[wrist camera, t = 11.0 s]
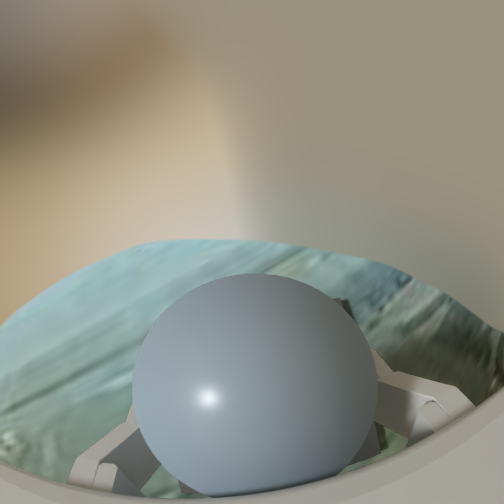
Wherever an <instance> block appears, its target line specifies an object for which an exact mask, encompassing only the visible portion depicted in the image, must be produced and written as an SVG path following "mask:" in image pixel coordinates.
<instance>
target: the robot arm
mask: <svg viewBox="0 0 504 504" xmlns="http://www.w3.org/2000/svg"><path fill="white" fill-rule="evenodd" d="M370 350H371V352H372V355H373V358H374V362H375V367H376V372H377V382H378V395H377V405H376V410H375V415H374V419H373V420H374V421H375V422H377V423H379V424H381V425H383V426H385V427H387V428H389V429H390V430H392V431H394V432H396V433H398V434H400V435H402V436H404V437H406V438H408V439H409V440H408V443H407V446H406V448H405V449H403V450H401V451H399V452H397V453H395V454H392V455H390V456H388V457H385V458H383V459H381V460H378V461H376V462H373V463H371V464H368V465H366V466H363V467H360V468H358V469H355V470H352V471H349V472H346V473H343V474H340V475H337V476H333V477H330V478H327V479H323V480H320V481H316V482H312V483H308V484H304V485H300V486H296V487H291V488H286V489H281V490H276V491H270V492H264V493H258V494H251V495H243V496H233V497H221V498H203V499H167V498H149V497H146V496H145V495H144V494H143V493H142V492H141V491H140V490H141V488H142V487H143V486H144V485H145V484H146V482H147V481H148V480H149V479H150V478H151V476H152V475H153V474H154V473H155V471H156V470H157V469H158V468H159V466H160V465H161V463H160V462H159V461H158V460H157V458H156V457H155V456H154V454H153V453H152V451H151V450H150V448H149V447H148V445H147V443H146V441H145V439H144V437H143V435H142V433H141V431H140V428H139V425H138V423H137V420H136V416H135V411H134V406H133V403H132V406H131V408H130V411H129V414H128V417H127V420H126V423H121V424H120V425H119V426H117V427H116V428H115V429H114V430H112V431H111V432H110V433H109V434H107V435H106V436H105V437H103V438H102V439H101V440H100V441H98V442H97V443H96V444H94V445H93V446H92V447H90V448H89V449H88V450H87V451H85V452H84V453H83V454H81V455H80V456H79V457H77V459H76V461H75V464H74V466H73V469H72V471H71V474H70V476H69V479H68V482H67V484H65V483H62V482H58V481H55V480H51V479H48V478H45V477H42V476H39V475H36V474H33V473H30V472H27V471H25V470H22V469H19V468H17V467H14V466H12V465H10V464H7V463H5V462H3V461H0V504H504V386H503V387H502V388H500V389H499V390H498V391H497V392H495V393H494V394H493V395H492V396H490V397H489V398H488V399H486V400H485V401H484V402H482V403H481V404H479V405H478V406H477V407H476V406H475V405H474V404H473V403H472V402H471V401H470V400H469V399H468V398H467V397H466V396H465V395H464V394H463V393H462V392H461V391H460V390H459V389H458V388H457V387H455V386H451V385H447V384H443V383H439V382H435V381H431V380H428V379H424V378H420V377H417V376H413V375H410V374H406V373H403V372H399V371H396V372H393V371H392V369H391V368H390V367H389V366H388V365H387V364H386V363H385V361H384V360H383V359H382V358H381V357H380V356H379V355H378V353H377V352H376V351H375V350H374V349H373V348H371V347H370Z"/></svg>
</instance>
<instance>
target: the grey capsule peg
mask: <svg viewBox="0 0 504 504" xmlns="http://www.w3.org/2000/svg"><path fill="white" fill-rule="evenodd" d="M132 395H133V406H134V411H135V416H136V420H137V423H138V425H139V428H140V431H141V433H142V435H143V437H144V439H145V441H146V443H147V445H148V447H149V448H150V450H151V451H152V453H153V454H154V456H155V457H156V458H157V460H158V461H159V462H160V463H161V464H162V465H163V466H164V467H165V468H166V469H167V470H168V471H169V472H170V473H171V474H172V475H173V476H175V477H176V478H177V479H178V480H180V481H181V482H183V483H184V484H186V485H187V486H189V487H191V488H192V489H194V490H196V491H198V492H200V493H202V494H205V495H207V496H209V497H212V498H221V497H233V496H243V495H251V494H258V493H264V492H270V491H276V490H281V489H286V488H291V487H296V486H300V485H304V484H308V483H312V482H316V481H320V480H323V479H327V478H330V477H333V476H336V475H337V474H338V473H340V472H341V471H342V470H343V469H344V468H345V467H346V466H347V465H348V463H349V462H350V461H351V460H352V459H353V457H354V456H355V455H356V453H357V452H358V451H359V449H360V448H361V446H362V444H363V442H364V441H365V439H366V437H367V435H368V433H369V430H370V427H371V425H372V422H373V419H374V415H375V410H376V405H377V395H378V382H377V372H376V367H375V362H374V358H373V355H372V352H371V350H370V347H369V344H368V342H367V340H366V338H365V337H364V335H363V333H362V331H361V330H360V328H359V327H358V325H357V324H356V322H355V321H354V320H353V318H352V317H351V316H350V315H349V314H348V313H347V312H346V311H345V310H344V309H343V308H342V307H341V306H340V305H339V304H338V303H336V302H335V301H334V300H333V299H332V298H330V297H329V296H327V295H326V294H324V293H322V292H321V291H319V290H318V289H315V288H313V287H311V286H309V285H307V284H305V283H302V282H299V281H296V280H294V279H291V278H286V277H281V276H277V275H268V274H243V275H235V276H229V277H225V278H221V279H217V280H214V281H212V282H209V283H206V284H204V285H202V286H200V287H198V288H196V289H194V290H192V291H190V292H188V293H187V294H185V295H184V296H182V297H181V298H180V299H178V300H177V301H176V302H174V303H173V304H172V305H171V306H170V307H169V308H168V309H166V310H165V312H164V313H163V314H162V315H161V316H160V317H159V318H158V319H157V320H156V322H155V323H154V325H153V326H152V328H151V329H150V331H149V332H148V334H147V336H146V338H145V340H144V341H143V343H142V345H141V348H140V351H139V353H138V356H137V359H136V363H135V368H134V373H133V383H132Z"/></svg>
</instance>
